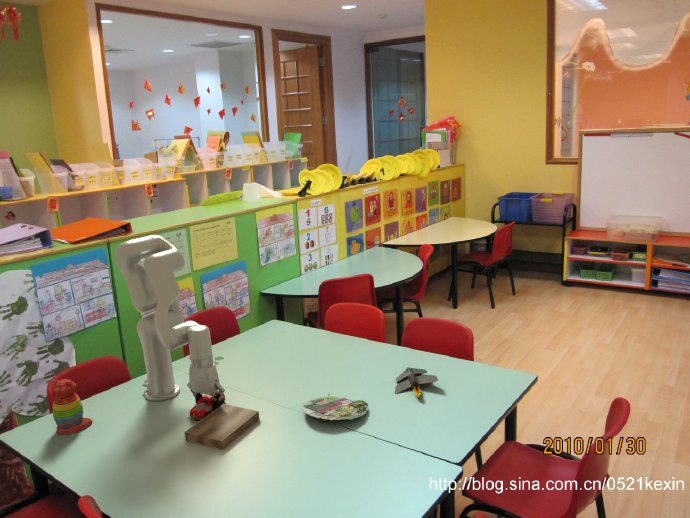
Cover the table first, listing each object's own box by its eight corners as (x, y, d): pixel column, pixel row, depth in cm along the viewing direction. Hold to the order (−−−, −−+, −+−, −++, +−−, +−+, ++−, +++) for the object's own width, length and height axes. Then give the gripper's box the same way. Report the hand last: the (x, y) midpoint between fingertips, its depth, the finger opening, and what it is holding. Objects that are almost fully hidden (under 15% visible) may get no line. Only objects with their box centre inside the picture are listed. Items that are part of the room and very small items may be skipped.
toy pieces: (190, 365, 246) (189, 355, 245) (206, 355, 256) (205, 345, 255) (213, 368, 241) (212, 358, 240) (229, 358, 251) (228, 348, 250)
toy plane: (444, 393, 203) (440, 380, 202) (398, 408, 204) (394, 395, 203) (430, 367, 228) (426, 355, 227) (389, 380, 228) (385, 368, 227)
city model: (383, 408, 205) (382, 391, 204) (356, 434, 184) (355, 415, 183) (320, 398, 215) (320, 382, 215) (288, 422, 194) (287, 404, 194)
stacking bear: (95, 421, 202) (86, 374, 198) (73, 437, 193) (64, 388, 188) (70, 418, 205) (62, 372, 201) (48, 433, 196) (38, 384, 192)
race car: (201, 423, 197) (200, 410, 196) (186, 420, 200) (184, 407, 198) (229, 401, 211) (227, 388, 210) (213, 398, 214) (212, 386, 213)
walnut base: (185, 440, 187) (184, 432, 186) (224, 411, 204) (223, 403, 203) (222, 449, 180) (221, 441, 179) (259, 419, 197) (258, 411, 196)
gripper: (175, 361, 202) (182, 408, 206) (215, 368, 194) (221, 416, 198) (190, 353, 208) (196, 398, 213) (228, 359, 201) (234, 406, 205)
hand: (208, 407), depth 205 cm, fingers closed on race car, 6 cm apart
